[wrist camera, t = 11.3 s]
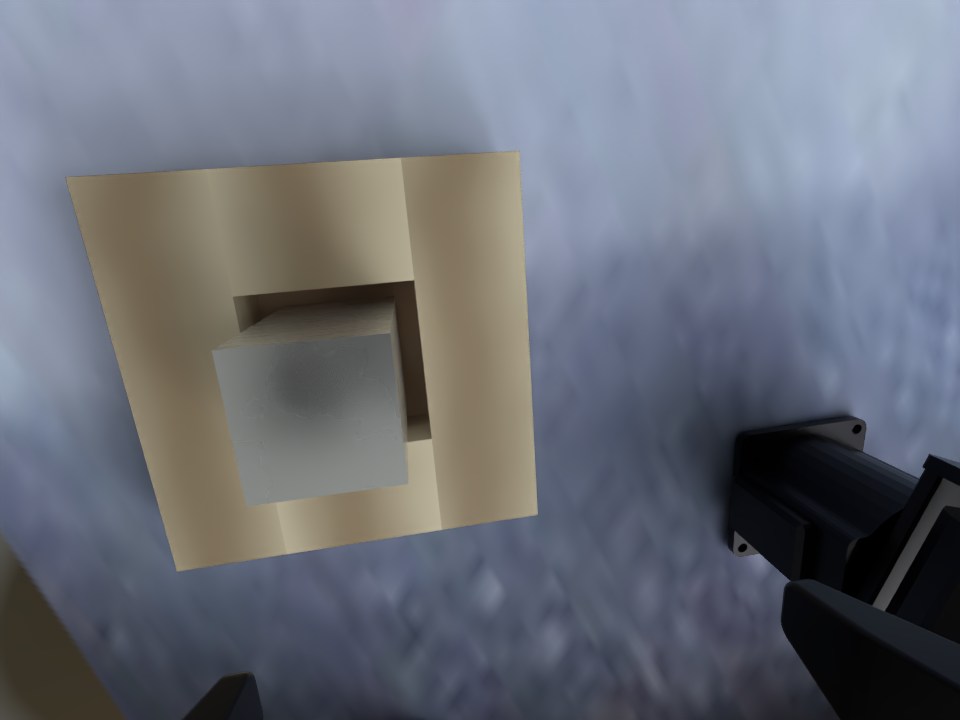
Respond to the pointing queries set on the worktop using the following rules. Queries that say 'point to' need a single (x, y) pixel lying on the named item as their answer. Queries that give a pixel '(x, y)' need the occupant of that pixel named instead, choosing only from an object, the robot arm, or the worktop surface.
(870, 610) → the robot arm
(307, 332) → the grey rectangular block
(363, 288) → the well block
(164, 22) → the worktop surface
